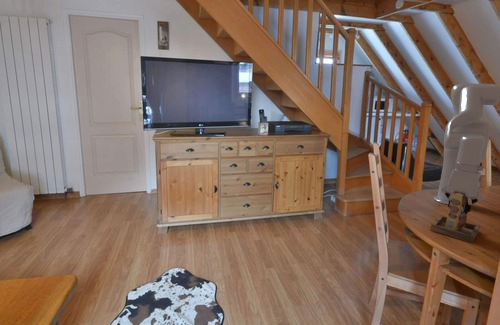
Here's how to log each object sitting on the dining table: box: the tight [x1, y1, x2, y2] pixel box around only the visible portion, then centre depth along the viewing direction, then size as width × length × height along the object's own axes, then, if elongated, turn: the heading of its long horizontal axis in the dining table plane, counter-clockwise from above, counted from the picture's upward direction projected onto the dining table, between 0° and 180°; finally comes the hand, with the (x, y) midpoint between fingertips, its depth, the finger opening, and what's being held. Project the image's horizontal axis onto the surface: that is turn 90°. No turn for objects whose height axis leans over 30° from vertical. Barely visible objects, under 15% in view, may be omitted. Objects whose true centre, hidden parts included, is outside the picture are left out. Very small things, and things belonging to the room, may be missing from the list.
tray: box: [430, 215, 481, 244], centre depth 127 cm, size 14×14×2 cm
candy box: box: [445, 192, 469, 231], centre depth 125 cm, size 9×4×15 cm, turn 125°
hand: (458, 210), depth 126 cm, fingers closed on candy box, 4 cm apart
